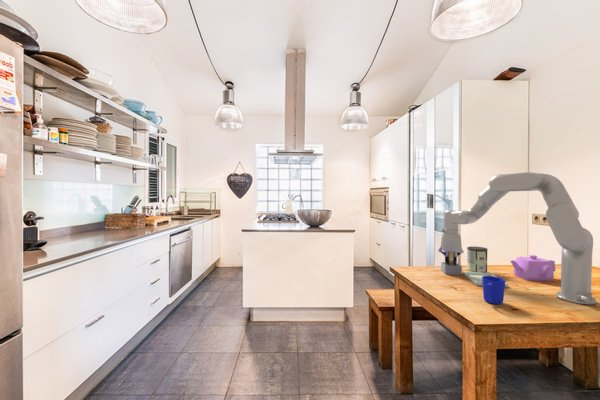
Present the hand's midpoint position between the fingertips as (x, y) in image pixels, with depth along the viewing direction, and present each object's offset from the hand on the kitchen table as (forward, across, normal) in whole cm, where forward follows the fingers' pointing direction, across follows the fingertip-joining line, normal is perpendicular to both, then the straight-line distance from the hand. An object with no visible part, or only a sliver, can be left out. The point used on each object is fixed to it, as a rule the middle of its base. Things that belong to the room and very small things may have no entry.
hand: (450, 263), depth 165 cm
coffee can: (+6, +16, +7) cm, 18 cm away
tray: (+6, +13, -12) cm, 19 cm away
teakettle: (+6, +41, 0) cm, 41 cm away
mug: (+6, +4, -46) cm, 47 cm away
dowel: (+5, 0, 0) cm, 5 cm away
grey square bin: (+6, 0, -1) cm, 6 cm away
